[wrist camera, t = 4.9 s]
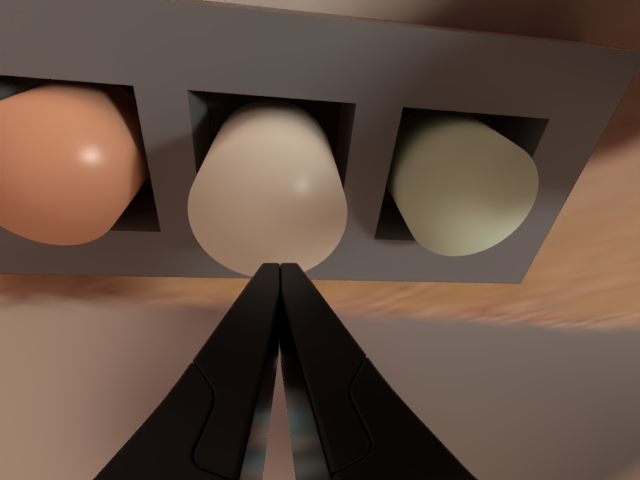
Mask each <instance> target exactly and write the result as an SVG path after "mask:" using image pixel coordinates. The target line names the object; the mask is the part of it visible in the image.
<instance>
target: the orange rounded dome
mask: <svg viewBox="0 0 640 480" xmlns="http://www.w3.org/2000/svg"><path fill="white" fill-rule="evenodd" d="M149 176H150V172H149V167H148V162H147V156H146V151H145V146H144V140H143V135H142V130H141V124H140V119H139V114H138V108H137V103H136V98H135V97H134V96H133V95H131V94H130V93H129V92H128V91H126V90H125V89H123V88H121V87H120V86H118V85H116V84H107V83H95V82H82V81H70V80H57V79H56V80H54V81H51V82H48V83H46V84H43V85H40V86H38V87H35V88H32V89H30V90H27V91H24V92H22V93H19V94H16V95H14V96H11V97H8V98H6V99H3V100H0V226H1V227H3V228H5V229H7V230H9V231H11V232H12V233H15V234H17V235H19V236H22V237H24V238H27V239H30V240H33V241H37V242H41V243H46V244H52V245H77V244H83V243H87V242H90V241H93V240H95V239H97V238H99V237H101V236H102V235H104V234H105V233H106V232H107V231H109V230H110V228H111V227H112V226H113V225H114V224H115V222H116V221H117V219H118V218H119V217H120V215H121V214H122V213H123V211H124V210H125V209H126V207H127V206H128V205H129V203H130V202H131V201H132V199H133V198H134V197H135V195H136V194H137V193H138V191H139V190H140V189H141V187H142V186H143V184H144V183H145V182H146V180H147V179H148V178H149Z"/></svg>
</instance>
